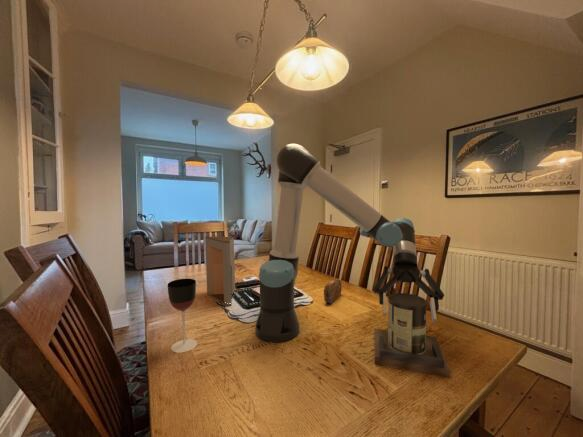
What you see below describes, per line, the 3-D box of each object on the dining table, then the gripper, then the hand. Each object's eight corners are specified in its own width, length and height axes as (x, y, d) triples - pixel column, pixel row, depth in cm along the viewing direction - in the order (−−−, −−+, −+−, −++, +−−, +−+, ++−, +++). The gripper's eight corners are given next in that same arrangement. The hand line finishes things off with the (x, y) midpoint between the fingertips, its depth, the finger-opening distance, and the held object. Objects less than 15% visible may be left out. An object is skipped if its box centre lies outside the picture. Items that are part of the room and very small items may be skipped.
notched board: (374, 363, 70) (374, 349, 70) (374, 334, 85) (374, 322, 85) (449, 377, 65) (450, 361, 64) (435, 343, 80) (435, 330, 80)
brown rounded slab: (329, 306, 108) (329, 287, 108) (322, 304, 110) (322, 285, 109) (342, 295, 121) (342, 277, 121) (335, 293, 123) (335, 276, 122)
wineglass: (171, 356, 74) (168, 289, 73) (169, 342, 82) (167, 280, 81) (199, 349, 78) (197, 284, 77) (196, 335, 86) (193, 277, 84)
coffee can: (420, 338, 79) (421, 293, 78) (430, 358, 69) (432, 307, 68) (385, 335, 81) (385, 291, 80) (390, 354, 71) (391, 304, 70)
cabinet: (207, 293, 124) (205, 236, 122) (225, 289, 131) (223, 234, 129) (228, 306, 109) (226, 241, 107) (247, 300, 115) (246, 239, 113)
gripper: (443, 265, 88) (454, 328, 75) (367, 260, 96) (365, 316, 83) (447, 253, 83) (460, 318, 70) (367, 249, 91) (365, 307, 78)
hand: (408, 317), depth 76 cm, fingers open, 13 cm apart
